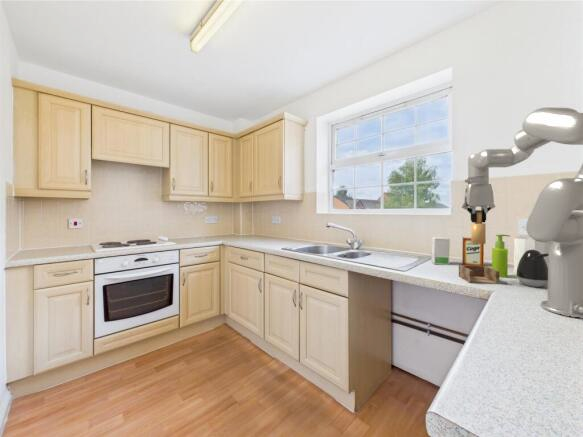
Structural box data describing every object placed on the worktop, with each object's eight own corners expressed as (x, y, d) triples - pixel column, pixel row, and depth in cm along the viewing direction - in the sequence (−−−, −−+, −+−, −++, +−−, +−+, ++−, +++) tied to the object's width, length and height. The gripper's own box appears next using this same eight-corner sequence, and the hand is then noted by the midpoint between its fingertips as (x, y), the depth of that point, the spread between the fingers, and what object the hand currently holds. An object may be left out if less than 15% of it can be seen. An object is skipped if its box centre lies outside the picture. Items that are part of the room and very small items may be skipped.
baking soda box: (463, 264, 148) (463, 237, 147) (462, 262, 154) (462, 236, 153) (483, 266, 143) (483, 238, 142) (481, 264, 149) (482, 236, 148)
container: (518, 276, 123) (519, 239, 122) (509, 270, 135) (510, 236, 135) (560, 280, 116) (561, 240, 115) (546, 272, 129) (547, 237, 128)
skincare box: (433, 264, 151) (433, 238, 150) (431, 262, 157) (431, 236, 156) (449, 265, 148) (450, 238, 148) (446, 262, 154) (446, 237, 154)
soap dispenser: (512, 277, 120) (513, 235, 119) (496, 277, 121) (496, 235, 120) (505, 274, 126) (505, 234, 125) (489, 274, 127) (489, 234, 126)
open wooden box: (499, 284, 110) (499, 271, 110) (469, 283, 113) (469, 270, 113) (485, 277, 121) (485, 265, 121) (458, 276, 124) (458, 265, 124)
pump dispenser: (538, 290, 102) (539, 252, 101) (510, 283, 112) (510, 248, 111) (556, 287, 104) (557, 250, 104) (527, 281, 114) (527, 247, 114)
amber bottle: (488, 244, 113) (487, 210, 113) (474, 243, 114) (474, 210, 114) (481, 242, 118) (481, 210, 118) (469, 242, 119) (469, 210, 119)
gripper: (461, 181, 113) (462, 222, 114) (504, 179, 110) (504, 222, 110) (454, 183, 121) (454, 222, 121) (494, 181, 117) (494, 221, 118)
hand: (478, 221), depth 116 cm, fingers closed on amber bottle, 2 cm apart
